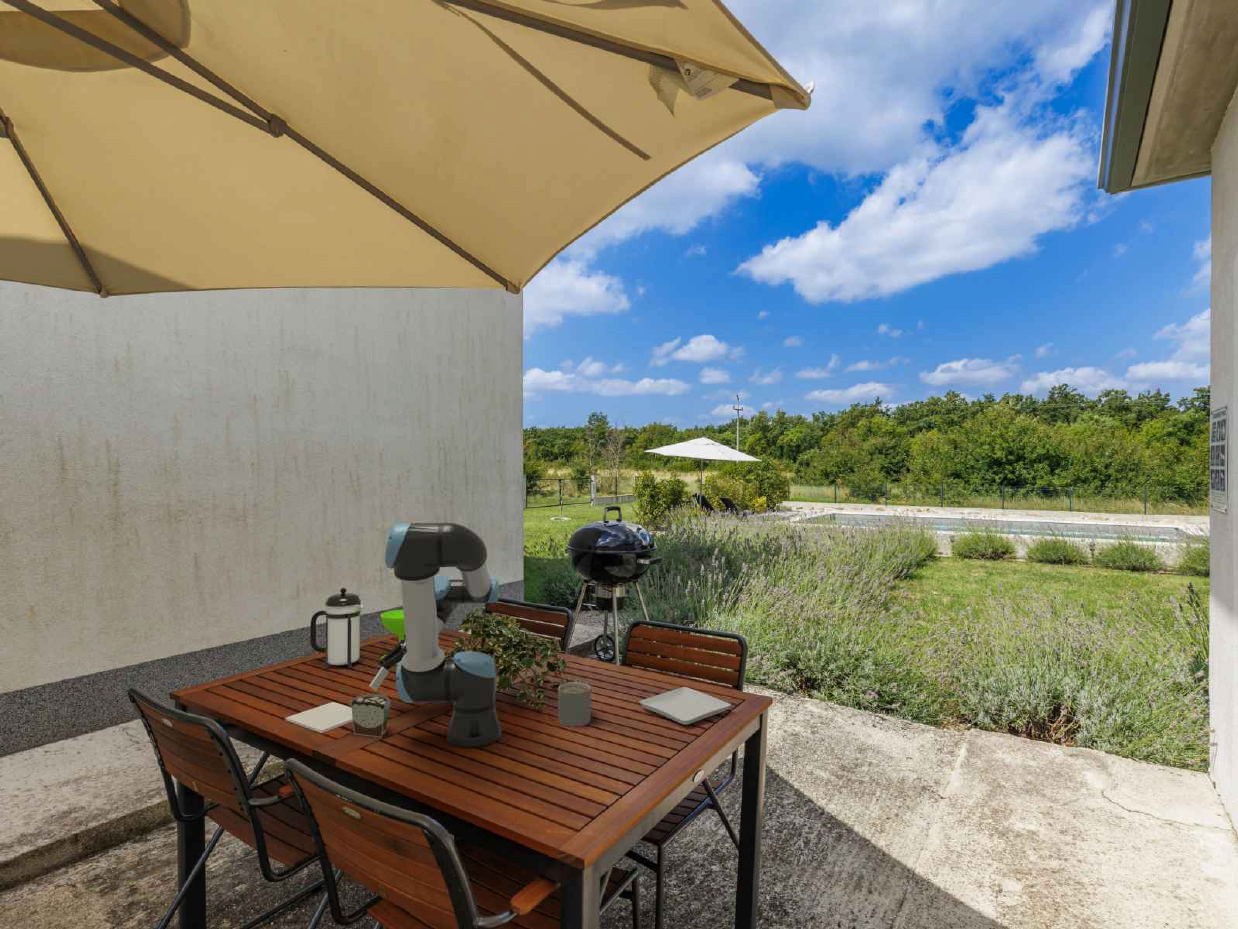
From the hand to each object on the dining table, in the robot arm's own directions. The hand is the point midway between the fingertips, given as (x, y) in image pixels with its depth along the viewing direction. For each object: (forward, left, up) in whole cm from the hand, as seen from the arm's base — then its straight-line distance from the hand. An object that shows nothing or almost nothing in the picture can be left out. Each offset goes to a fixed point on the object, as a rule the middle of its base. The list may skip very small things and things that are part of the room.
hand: (387, 692), depth 195 cm
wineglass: (+52, -48, -10) cm, 71 cm away
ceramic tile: (+20, +6, -10) cm, 23 cm away
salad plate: (-70, -58, -10) cm, 91 cm away
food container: (-1, +5, -10) cm, 11 cm away
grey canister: (-45, -35, -10) cm, 58 cm away
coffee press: (+65, -29, -10) cm, 72 cm away
